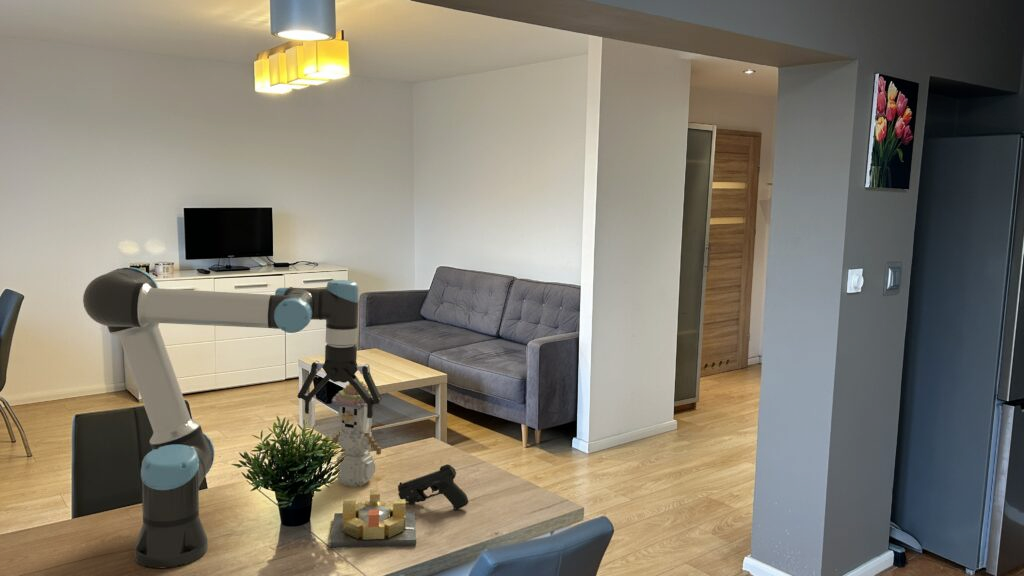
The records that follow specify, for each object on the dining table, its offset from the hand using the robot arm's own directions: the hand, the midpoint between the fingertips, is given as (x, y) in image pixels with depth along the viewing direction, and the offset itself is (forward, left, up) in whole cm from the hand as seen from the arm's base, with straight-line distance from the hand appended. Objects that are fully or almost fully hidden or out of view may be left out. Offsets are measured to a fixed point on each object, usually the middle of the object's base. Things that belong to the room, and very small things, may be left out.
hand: (338, 428), depth 194 cm
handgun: (+24, +8, -25) cm, 35 cm away
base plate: (+9, -6, -24) cm, 27 cm away
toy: (+3, +26, -24) cm, 36 cm away
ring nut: (+9, -6, -23) cm, 25 cm away
